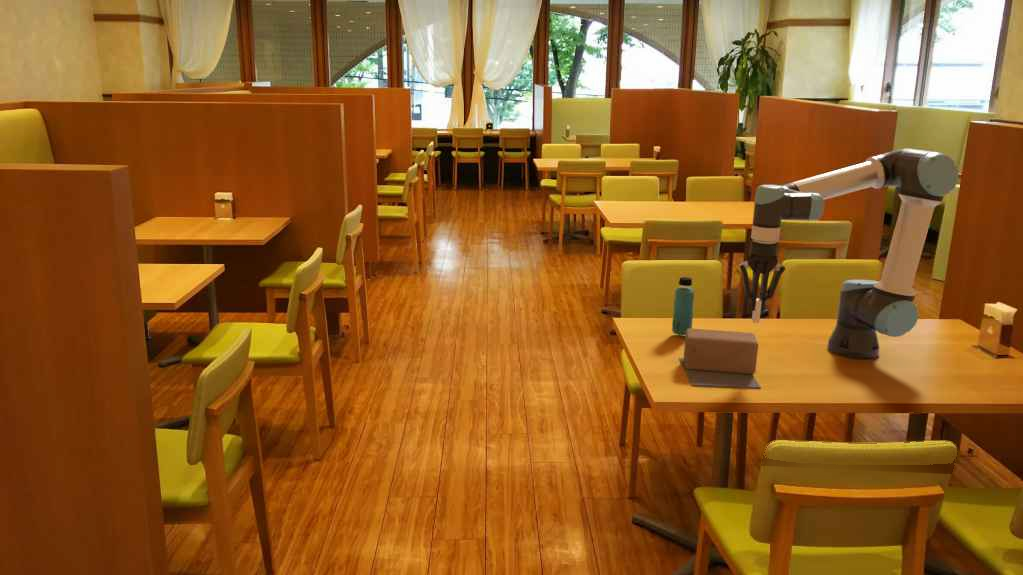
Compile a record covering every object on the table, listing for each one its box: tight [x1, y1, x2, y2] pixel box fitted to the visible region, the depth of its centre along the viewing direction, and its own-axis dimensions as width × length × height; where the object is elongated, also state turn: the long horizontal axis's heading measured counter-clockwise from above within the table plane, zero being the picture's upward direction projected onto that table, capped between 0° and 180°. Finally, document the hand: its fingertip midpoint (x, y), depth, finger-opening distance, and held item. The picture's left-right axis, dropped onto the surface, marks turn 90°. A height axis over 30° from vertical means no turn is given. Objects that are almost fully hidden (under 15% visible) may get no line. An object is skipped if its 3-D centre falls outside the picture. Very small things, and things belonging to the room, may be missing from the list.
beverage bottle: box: [671, 276, 696, 336], centre depth 267 cm, size 6×7×20 cm
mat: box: [678, 357, 762, 390], centre depth 238 cm, size 19×22×1 cm
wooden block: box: [683, 327, 759, 375], centre depth 240 cm, size 10×10×20 cm
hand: (755, 321), depth 235 cm, fingers closed
